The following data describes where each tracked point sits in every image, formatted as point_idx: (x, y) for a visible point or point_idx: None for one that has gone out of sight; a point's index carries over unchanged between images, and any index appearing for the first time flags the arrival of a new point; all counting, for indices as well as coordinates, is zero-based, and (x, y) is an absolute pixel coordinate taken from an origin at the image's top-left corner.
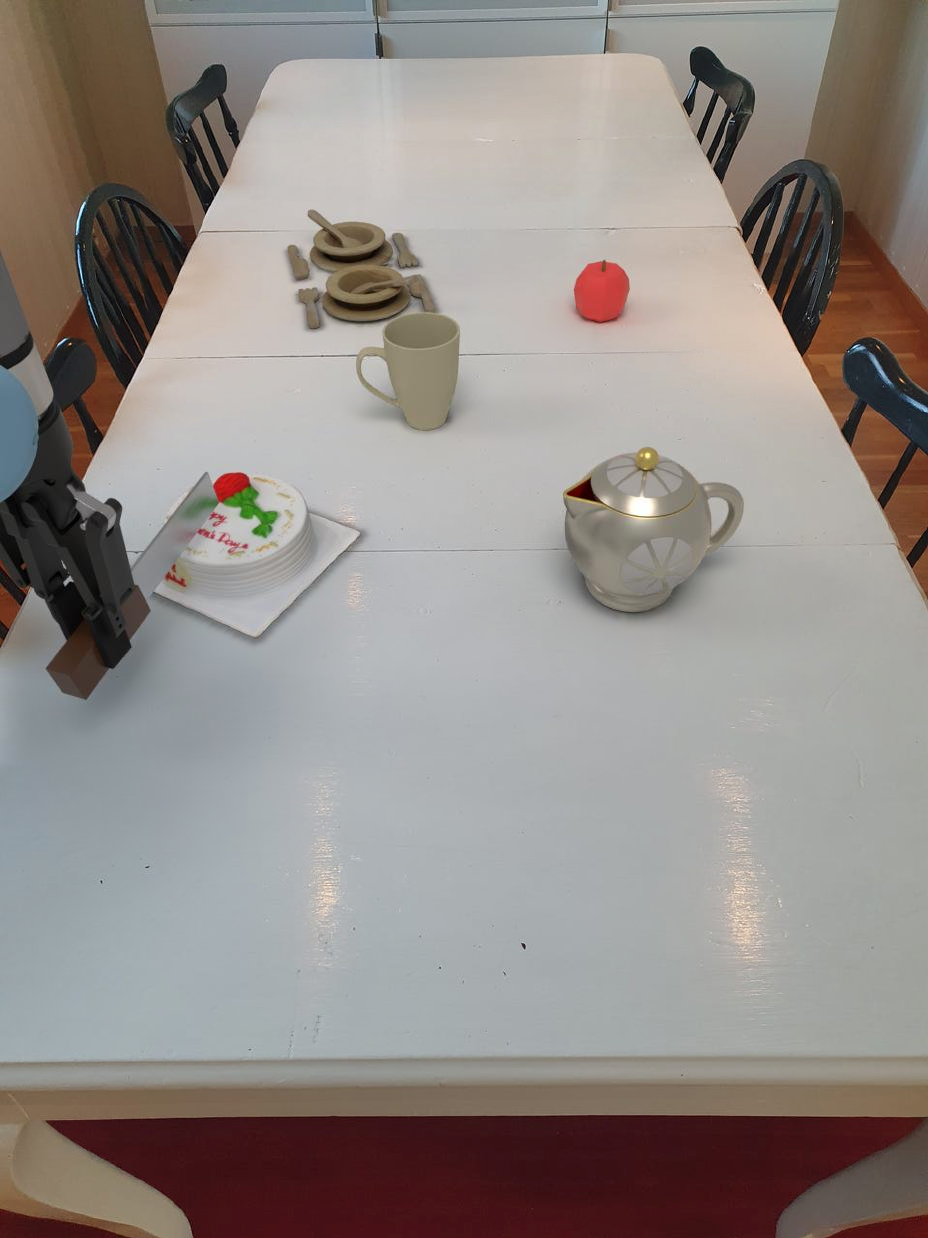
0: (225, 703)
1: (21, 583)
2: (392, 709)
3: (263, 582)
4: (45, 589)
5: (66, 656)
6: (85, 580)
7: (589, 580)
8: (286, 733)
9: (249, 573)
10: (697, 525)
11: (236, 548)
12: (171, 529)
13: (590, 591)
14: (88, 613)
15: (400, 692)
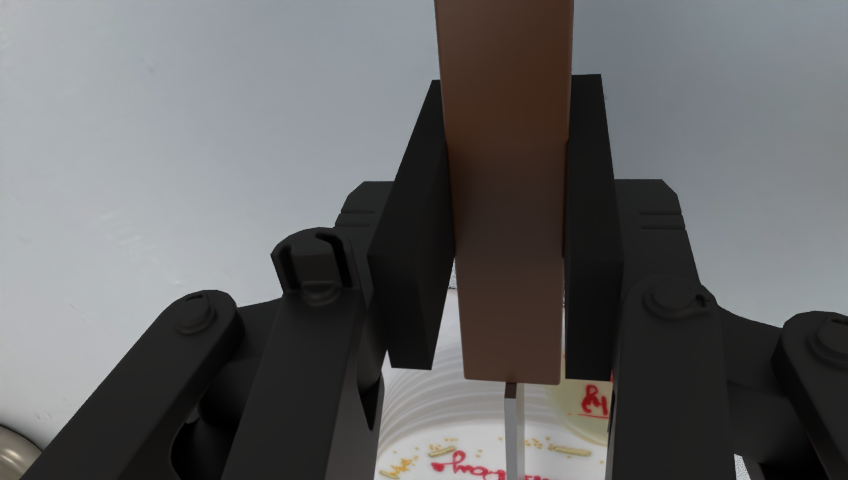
0: (302, 117)
1: (814, 346)
2: (37, 205)
3: (406, 388)
4: (622, 338)
5: (516, 39)
6: (226, 465)
7: (9, 454)
8: (134, 93)
9: (415, 408)
10: None
11: (451, 461)
12: None
13: (6, 438)
14: (309, 257)
15: (59, 238)
